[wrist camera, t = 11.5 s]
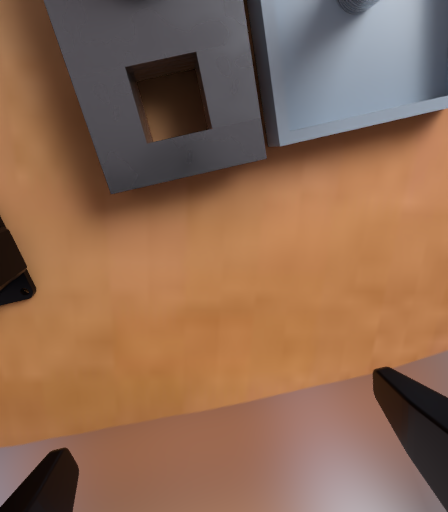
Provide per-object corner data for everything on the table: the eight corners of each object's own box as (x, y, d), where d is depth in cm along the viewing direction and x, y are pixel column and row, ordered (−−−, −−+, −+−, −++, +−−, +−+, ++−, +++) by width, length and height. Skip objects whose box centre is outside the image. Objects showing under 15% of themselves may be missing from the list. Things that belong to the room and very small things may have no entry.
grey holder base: (123, 186, 17) (96, 202, 12) (15, -143, 12) (-105, -342, 7) (254, 156, 18) (280, 160, 13) (199, -179, 13) (205, -396, 8)
